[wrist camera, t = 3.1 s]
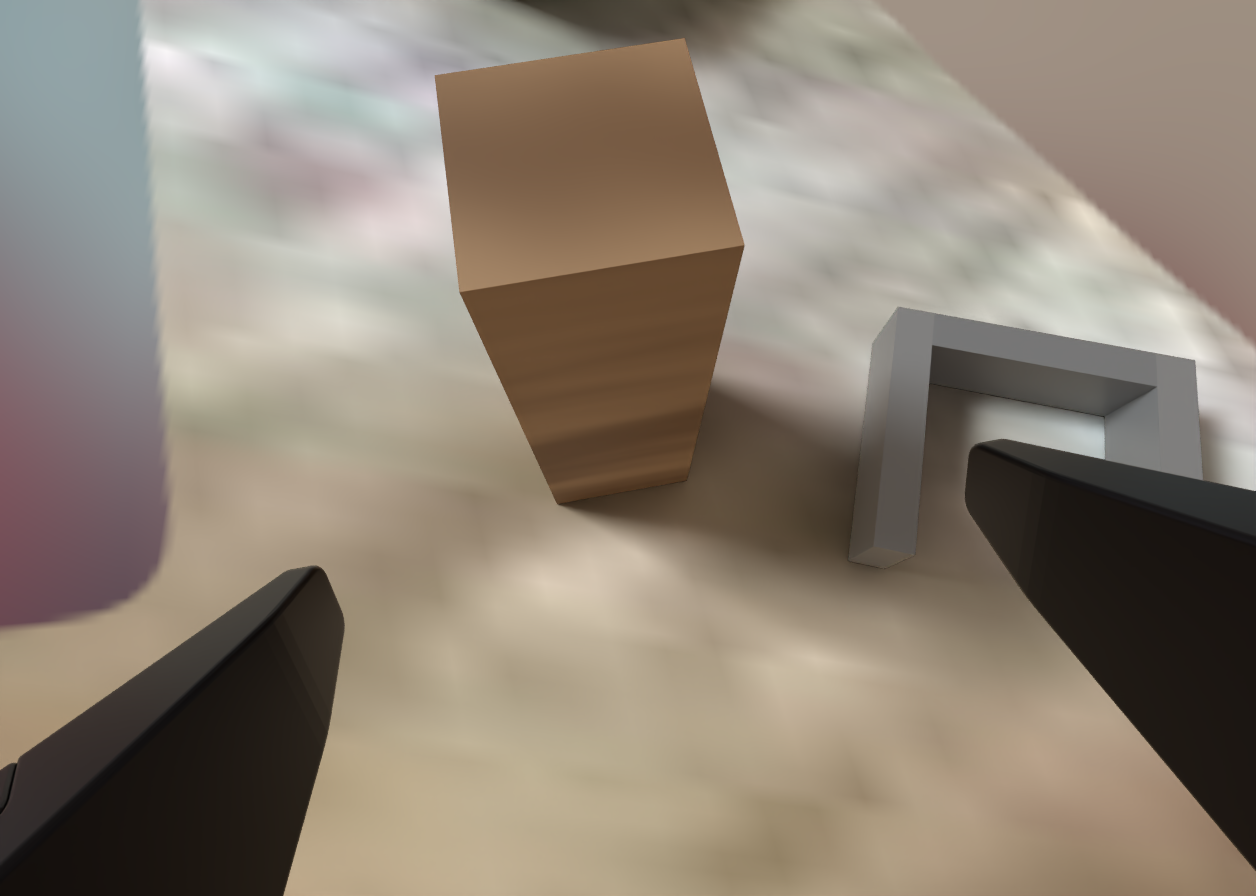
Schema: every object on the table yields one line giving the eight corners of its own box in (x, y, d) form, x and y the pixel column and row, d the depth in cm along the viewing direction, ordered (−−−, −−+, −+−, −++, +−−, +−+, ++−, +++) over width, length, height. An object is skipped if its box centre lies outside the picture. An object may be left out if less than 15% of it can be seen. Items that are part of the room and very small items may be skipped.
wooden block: (686, 480, 23) (745, 245, 10) (557, 504, 22) (459, 292, 10) (660, 364, 24) (684, 38, 12) (539, 385, 24) (434, 75, 12)
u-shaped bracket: (1146, 624, 21) (1212, 617, 18) (847, 560, 22) (873, 546, 19) (1139, 392, 23) (1195, 360, 21) (872, 342, 24) (898, 306, 22)
